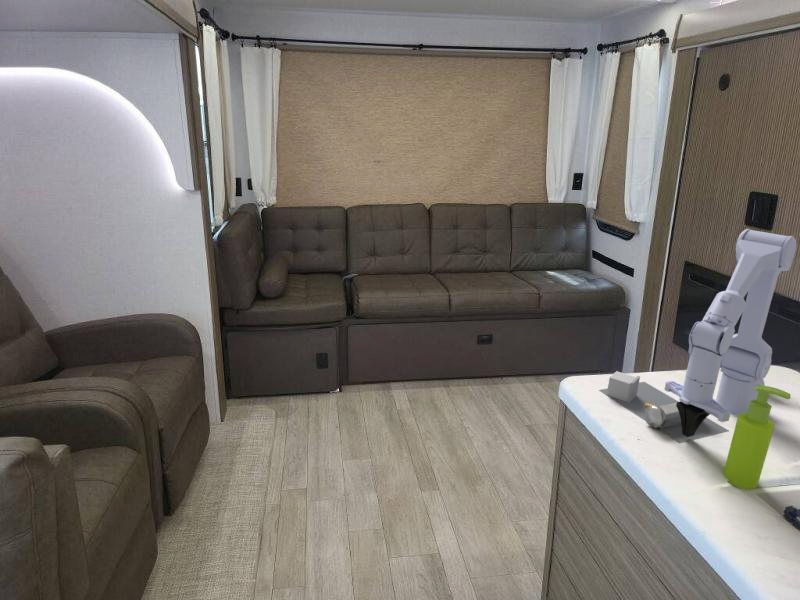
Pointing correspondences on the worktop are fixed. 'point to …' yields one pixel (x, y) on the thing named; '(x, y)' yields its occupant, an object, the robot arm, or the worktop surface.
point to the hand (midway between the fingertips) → (687, 434)
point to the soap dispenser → (751, 440)
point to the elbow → (662, 416)
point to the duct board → (652, 404)
